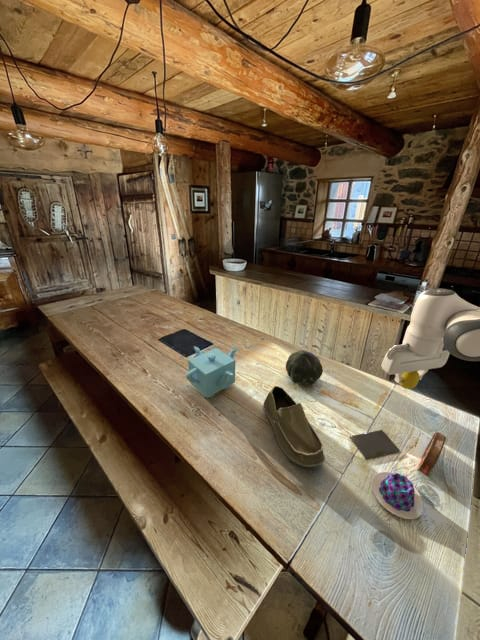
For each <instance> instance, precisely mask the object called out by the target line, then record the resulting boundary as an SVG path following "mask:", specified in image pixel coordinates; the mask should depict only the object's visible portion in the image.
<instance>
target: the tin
mask: <svg viewBox="0 0 480 640" xmlns="http://www.w3.org/2000/svg"><path fill="white" fill-rule="evenodd" d="M446 440H447V437H446V436H445V435H444V434H442V433H441V432H439V431H438V430H436V431H435V432H434V434H433V435H432V437H431V439H430V440H429V443H428V444H427V446H426V448H425V450H424V452H423V454H422V457H421V459H420V462H419V463H418V466H417V469H416V470H417V471H418V472H420V473H422V474H423V475H425V476H427V477H428V476H430V472H431V471H432V470H433V469H434V468H435V466H436V465H437V464H438V463H437V462H438V461H439V459H440V456H441V454H442V451H443V449H444V447H445V446H444V445H445V443H446Z"/></svg>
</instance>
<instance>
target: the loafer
mask: <svg viewBox="0 0 480 640" xmlns="http://www.w3.org/2000/svg"><path fill="white" fill-rule="evenodd" d="M263 411H264V412H265V415H266V416H267V418H268V420H269V422H270V424H271V426H272V428H273V431H274V434H275V438H276V441H277V443H278V445H279V447H280V450H281V451H282V453H283V454H284V455H285V456H286V457H287V458H288V459H289V460H290V461H291V462H293V463H294V464H296V465H299V466H301V467H306V468H313V467H318V466H321V465H322V464H324V463H325V460H326V457H325V453H324V445H323V443H322V441H321V439H320V437H319V436H318V433H317V432H316V431H315V430H314V427H313V426H312V424H311V423H310V422H309V420H308V417H307V415H306V413H305V411H304V408H303V406H302V403H301V402H298V403H296V401H295V400H294V399H293V397H292V396H291V395H289V393H287V391H286V390H285V389H284V387H281V386H279V385H274V386H273V387H272V388H271V389H270V391H269V392H268V393H267V396H265V399H264V402H263Z"/></svg>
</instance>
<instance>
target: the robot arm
mask: <svg viewBox="0 0 480 640" xmlns="http://www.w3.org/2000/svg"><path fill="white" fill-rule="evenodd" d="M450 355H452V356H453V357H455V358H457V359H460V360H462V361H468V362H480V306H477V305H475V304H472V303H470V302H468V301H467V300H465V299H464V298H461V297H460V296H459V295H458V293H456V291H454V290H452V289H448V288H430V289H426V290H424V291H422V292H421V293H420V294H419V295H418V297H417V299H416V300H415V303H414V306H413V308H412V311H411V314H410V322H409V325H407V328H406V330H405V333H404V336H403V340H402V344H395V345H393V346H392V347H391V348H389V349H388V350H387V352H386V354H385V355H384V357H383V360H382V362H381V364H380V367H381V368H382V370H383V371H384V372H385V373H386V374H388V375H390V376H392V375H394V376H395V377H394V382H395V383H397V384H399V383H402V382H403V380H404V378H403V377H401V375H403V373H406V372H413V371H417V372H418V373H419V381H421V380H422V378H423V376H424V375H425V374H426V373H428V372H429V370H432V369H439V368H442V367H443V366H445V365H446V364H447V362H448V359H449V357H450Z"/></svg>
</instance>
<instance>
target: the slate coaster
mask: <svg viewBox="0 0 480 640" xmlns="http://www.w3.org/2000/svg"><path fill="white" fill-rule="evenodd" d="M349 438H350V440H351V442H353V444H354V445H355V447H356V449H358V451H359V452H360V454H361V455H362V456H363V458H364V459H365V460H368V459H372V458H377V457H381V456H385V455H390V454H394V453H399V452H401V451H400V450H401V449H400V448H399V447H398V446H397V445H396V444H395V442H393V441H392V439H391V438H390V437H389V436H388V435H387V434H386V432H385V431H384V430H383V429H379V430H373V431H369V432H364V433H358V434H354V435H350V436H349Z"/></svg>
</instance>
